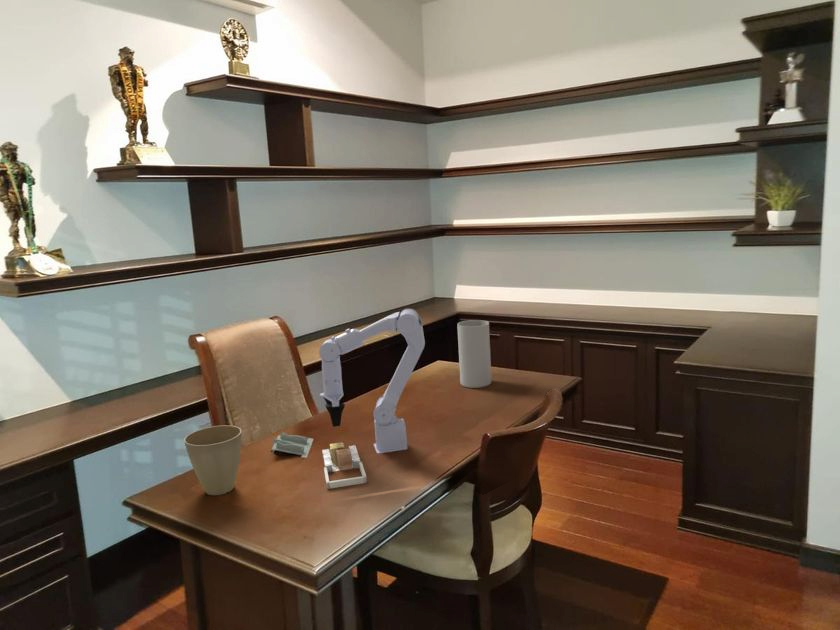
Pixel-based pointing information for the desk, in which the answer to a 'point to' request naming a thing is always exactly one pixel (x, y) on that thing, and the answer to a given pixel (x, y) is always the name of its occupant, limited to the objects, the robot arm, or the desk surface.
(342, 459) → the copper cube
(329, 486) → the tray
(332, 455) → the brass cube
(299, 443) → the metal bracket
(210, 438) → the plant pot
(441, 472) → the desk surface
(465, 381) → the cylinder vase
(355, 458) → the aluminium channel
